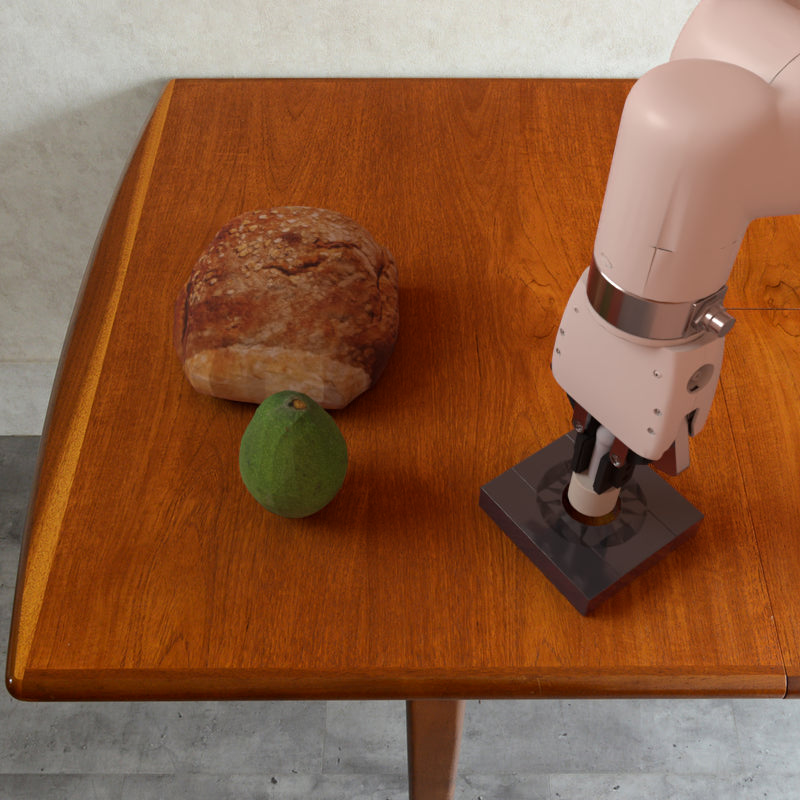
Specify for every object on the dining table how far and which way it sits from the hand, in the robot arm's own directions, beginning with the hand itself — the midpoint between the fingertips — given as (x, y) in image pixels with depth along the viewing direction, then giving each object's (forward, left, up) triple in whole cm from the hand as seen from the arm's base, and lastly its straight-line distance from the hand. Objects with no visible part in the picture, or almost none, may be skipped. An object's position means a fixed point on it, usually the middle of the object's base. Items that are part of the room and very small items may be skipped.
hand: (599, 471), depth 65 cm
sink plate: (0, 0, -6) cm, 6 cm away
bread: (+9, -30, -6) cm, 32 cm away
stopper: (0, 0, -3) cm, 3 cm away
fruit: (+17, -15, -6) cm, 24 cm away
